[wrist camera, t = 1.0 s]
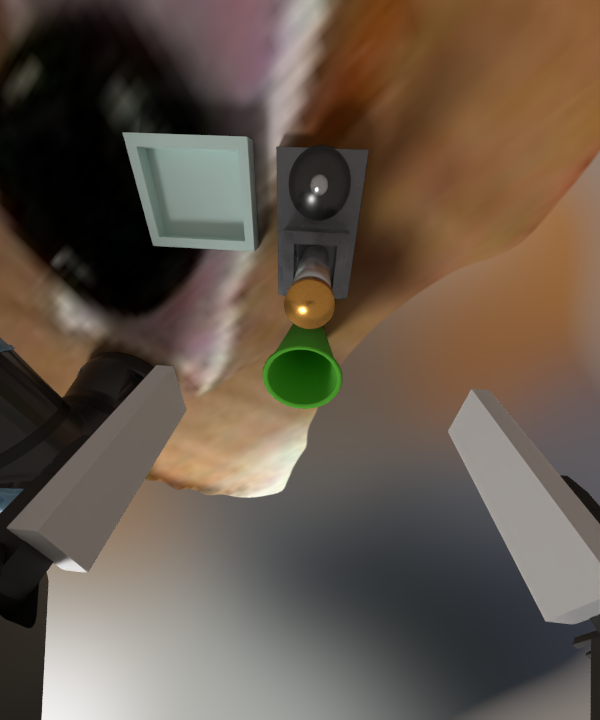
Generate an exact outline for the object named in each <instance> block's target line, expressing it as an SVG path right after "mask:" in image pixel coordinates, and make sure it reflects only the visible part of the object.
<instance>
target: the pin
mask: <svg viewBox="0 0 600 720" xmlns="http://www.w3.org/2000/svg"><path fill="white" fill-rule="evenodd" d="M284 307H285V312H286V314H287V316H288V318H289V319H290V320H291V321H292V322H293V323H294V324H295V325H297V326H299V327H301V328H305V329H315V328H318V327H321V326H323V325H324V324H326V323H327V322H328V321H329V320H330V319H331V317H332V315H333V313H334V310H335V299H334V293H333V290H332V288H331V280H330V266H329V256H328V253H327V252H326V250H325V249H324V248H322V247H320V246H316V245H314V246H310V247H308V248H307V249H305V251H304V252H303V254H302V256H301V259H300V262H299V266H298V269H297V272H296V275H295V278H294V281H293V284H292V285H291V286H290V287H289V289H288V292H287V295H286V298H285V302H284Z"/></svg>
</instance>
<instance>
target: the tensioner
mask: <svg viewBox="0 0 600 720" xmlns="http://www.w3.org/2000/svg"><path fill="white" fill-rule="evenodd" d="M276 149H277V223H278V294H280V295H283V296H286V295H287V292H288V289H289V287H290V286H291V285H292V284H293V281H294V278H295V275H296V272H297V269H298V266H299V262H300V259H301V256H302V254H303V252H304V251H305V249H307V248H308V247H310V246H314V245H316V246H320V247H322V248H324V249H325V250H326V252H327V253H328V256H329V266H330V280H331V288H332V290H333V293H334V299H342V298H345V299H347V296H348V289H349V282H350V275H351V268H352V261H353V254H354V248H355V241H356V234H357V227H358V220H359V213H360V206H361V199H362V192H363V186H364V179H365V172H366V165H367V158H368V151H369V150H357V149H334V148H332V147H330V146H326V145H317V146H313V147H310V148H301V147H276Z"/></svg>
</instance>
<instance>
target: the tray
mask: <svg viewBox="0 0 600 720" xmlns="http://www.w3.org/2000/svg"><path fill="white" fill-rule="evenodd" d="M122 133H123V136H124V140H125V144H126V147H127V151H128V155H129V159H130V162H131V166H132V170H133V173H134V177H135V181H136V184H137V188H138V192H139V195H140V199H141V203H142V207H143V210H144V214H145V218H146V221H147V225H148V229H149V232H150V236H151V240H152V243H153V246H165V247H184V248H202V249H221V250H239V251H255V250H256V249H257V248H258V247H259V239H258V220H257V201H256V182H255V163H254V144H253V140H252V139H250V138H248V137H243V136H213V135H184V134H155V133H125V132H122Z"/></svg>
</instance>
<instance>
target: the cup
mask: <svg viewBox="0 0 600 720" xmlns="http://www.w3.org/2000/svg"><path fill="white" fill-rule="evenodd" d="M263 381H264V385H265V387H266V388H267V390H268V392H269V393H270V394H271V395H272V396H273V397H274V398H275V399H276V400H278V401H279V402H281V403H283V404H285V405H287V406H290V407H294V408H302V409H308V408H315V407H318V406H322V405H324V404H326V403H327V402H329V401H331V400H332V399H333V398H334V397H335V396H336V395H337V393H338V391H339V390H340V388H341V384H342V371H341V369H340V366H339V364H338V363H337V361H336V360H335V359H334V357H333V354H332V351H331V348H330V346H329V343H328V340H327V337H326V334H325V331H324V328H323V327H322V326H321V327H318V328H315V329H305V328H301V327H299V326H297V325H295V324H293V325H292V327H291V328H290V330H289V331H288V333H287V334H286V336H285V338H284V339H283V341H282V342H281V344H280V346H279V347H278V349H277V350H276V352H275V353H274V354H272V355H271V356H270V357H269V359H268V360H267V361H266V363H265V365H264V368H263Z"/></svg>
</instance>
